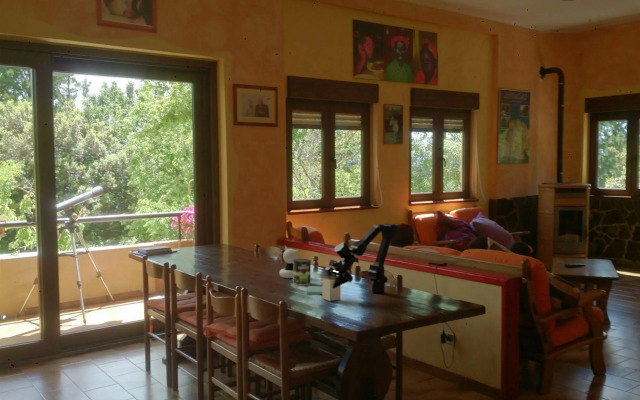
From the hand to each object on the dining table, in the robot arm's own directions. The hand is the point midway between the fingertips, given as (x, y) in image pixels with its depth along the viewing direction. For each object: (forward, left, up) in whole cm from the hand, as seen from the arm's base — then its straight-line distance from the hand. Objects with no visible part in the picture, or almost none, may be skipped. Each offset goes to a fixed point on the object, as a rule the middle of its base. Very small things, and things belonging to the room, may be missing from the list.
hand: (329, 286), depth 304 cm
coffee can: (+17, -40, -7) cm, 44 cm away
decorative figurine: (+25, -60, -7) cm, 65 cm away
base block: (+5, -20, -8) cm, 22 cm away
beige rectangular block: (-1, -1, -7) cm, 7 cm away
